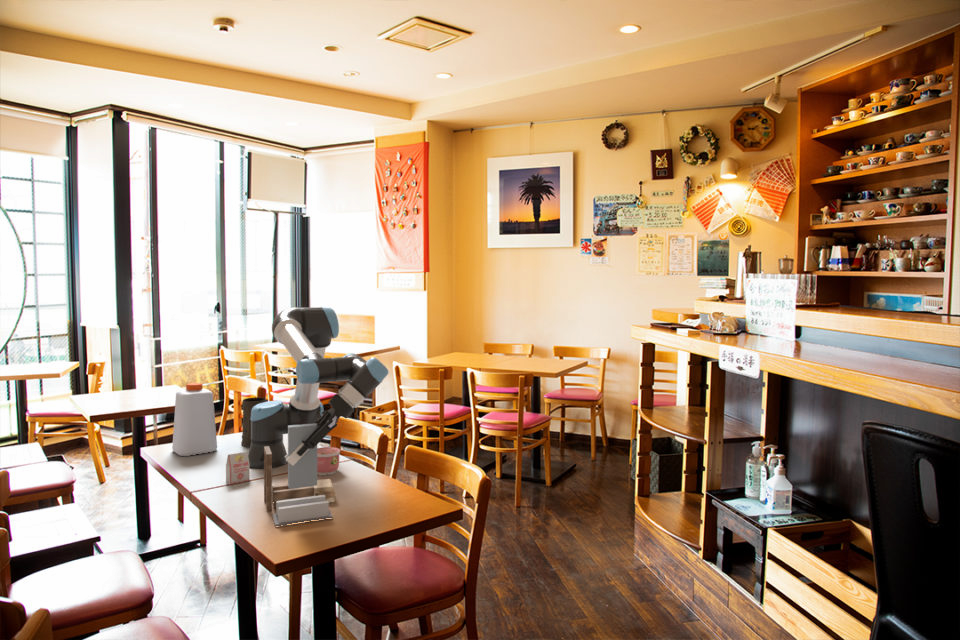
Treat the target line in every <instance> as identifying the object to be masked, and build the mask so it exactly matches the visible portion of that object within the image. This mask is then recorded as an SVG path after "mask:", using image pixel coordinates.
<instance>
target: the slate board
mask: <svg viewBox="0 0 960 640" xmlns="http://www.w3.org/2000/svg"><path fill="white" fill-rule="evenodd" d="M316 428H317V424H316V423H314V424H301V425H289V426H288V434H287V454H288V457H289V456H290V455H291V454H292V453H293V452H294V451H295V450H296V448H297V447H298V446H299V445H300V444H301V443H302V440H303V441H306V440H307V438H308V437H309V436H310V435H311V434H312V433H313V432H314V431H315V429H316ZM317 448H318V444H317V445H316V446H315V447H314V448H313V449H312V448H311V449H309V450H308V451H307V452H306V453H305V454H304V455H303V456H302V457H301V458H300V459H299V460H298V461H297V462H296V464H295V465H294V466H292V465H291V464H290V463H289V462H287V484H288V487H289V489H292V488H300V487H308V486H316V485H317V480H318V475H317Z"/></svg>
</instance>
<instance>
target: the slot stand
mask: <svg viewBox="0 0 960 640" xmlns="http://www.w3.org/2000/svg"><path fill="white" fill-rule="evenodd" d="M329 506H330V503H329V502H328V501H325V495H319V496H311V497H304V498H296V499H288V500H281V501H276V508H275V509H276V511H275V512H274V513H271V514H272V515H271V516H273V517H272V520H273V519H274V520H273V523H275V524H274V527H275V526H281V525H287V524H292V523H298V522H304V521H311V520H319V519H326V518H333V519H334V517H333V514H332V512H331V510H330V507H329Z"/></svg>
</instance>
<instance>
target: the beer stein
mask: <svg viewBox="0 0 960 640" xmlns="http://www.w3.org/2000/svg"><path fill="white" fill-rule="evenodd" d="M263 402H267V399H266V398H265V397H247V398H243V399H242V402H241V405H242V434H241V442H240V444H241V446H243V447H245V446H246V448H247V447H249V448H250V446H251V420H250V418H251V410H252V408H253V407H254V406H255V405H257V404H260V403H263Z"/></svg>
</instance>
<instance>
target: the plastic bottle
mask: <svg viewBox="0 0 960 640" xmlns="http://www.w3.org/2000/svg"><path fill="white" fill-rule="evenodd" d="M216 429H217V428H216V418H215V405H214V393H213V392H212V391H211V390H209V389H207V388H204V387H203V383H201V382H190V383H187V384H186V385H185V389H181V390H178V391H177V392H176V393H175V405H174V420H173V433H172V445H171V446H172V451H173V452H174V453H176V454H177V455H178V456H180V457H191V456H190V455H193V456H197V455H196V454H199V455H203V454H202V453H205V454H209V453H208V452H210V453H213V451H214V452H215V451H216V450H217V449H218V440H217V430H216Z"/></svg>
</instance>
